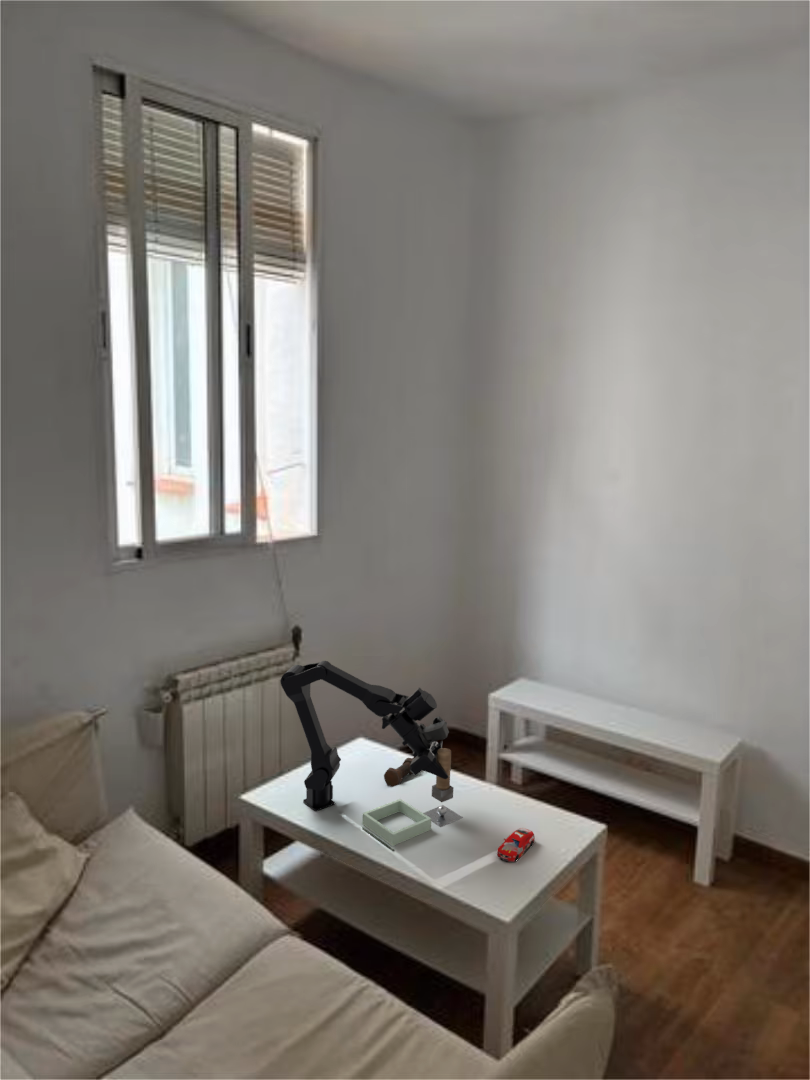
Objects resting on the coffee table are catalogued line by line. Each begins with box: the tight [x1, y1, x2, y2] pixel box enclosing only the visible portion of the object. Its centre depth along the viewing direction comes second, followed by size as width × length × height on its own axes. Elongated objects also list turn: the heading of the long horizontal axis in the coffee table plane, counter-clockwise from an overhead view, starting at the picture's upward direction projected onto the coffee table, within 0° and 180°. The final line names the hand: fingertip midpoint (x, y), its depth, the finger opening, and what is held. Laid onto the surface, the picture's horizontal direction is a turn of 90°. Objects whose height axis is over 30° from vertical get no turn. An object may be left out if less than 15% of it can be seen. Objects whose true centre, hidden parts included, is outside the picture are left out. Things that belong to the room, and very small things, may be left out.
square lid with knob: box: [422, 804, 464, 828], centre depth 211 cm, size 8×8×4 cm
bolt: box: [383, 756, 415, 788], centre depth 235 cm, size 6×5×15 cm
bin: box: [361, 798, 432, 852], centre depth 205 cm, size 13×13×4 cm
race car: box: [496, 827, 536, 863], centre depth 198 cm, size 13×5×4 cm, turn 143°
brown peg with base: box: [431, 747, 454, 803], centre depth 209 cm, size 4×4×13 cm
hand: (448, 774), depth 208 cm, fingers closed on brown peg with base, 4 cm apart
